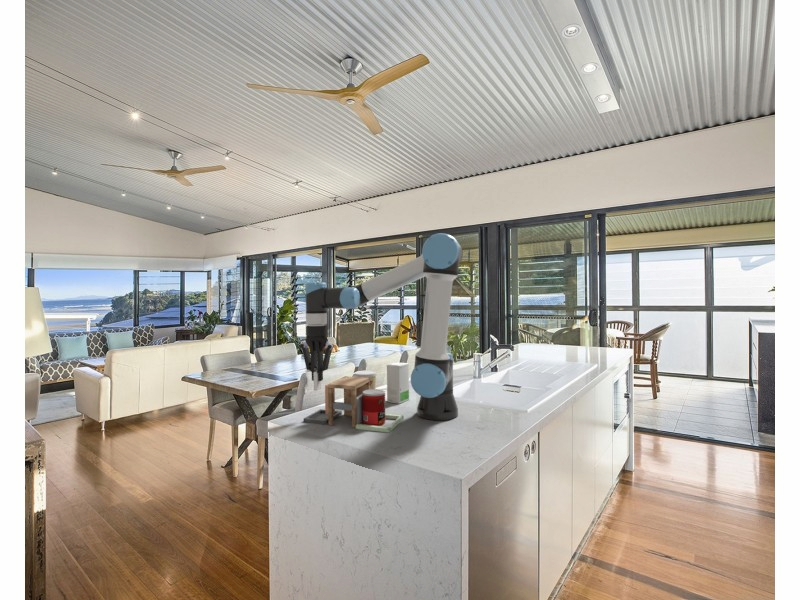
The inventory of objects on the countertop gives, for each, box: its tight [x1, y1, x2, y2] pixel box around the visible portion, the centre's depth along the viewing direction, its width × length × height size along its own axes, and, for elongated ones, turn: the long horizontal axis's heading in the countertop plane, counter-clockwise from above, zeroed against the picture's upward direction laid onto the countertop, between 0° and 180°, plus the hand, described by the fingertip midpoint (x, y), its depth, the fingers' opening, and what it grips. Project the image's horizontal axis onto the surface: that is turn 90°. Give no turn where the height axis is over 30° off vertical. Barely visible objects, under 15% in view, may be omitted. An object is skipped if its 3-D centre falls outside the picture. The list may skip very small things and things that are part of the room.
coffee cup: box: [353, 369, 377, 389], centre depth 174 cm, size 9×9×12 cm
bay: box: [355, 413, 405, 433], centre depth 145 cm, size 12×15×1 cm
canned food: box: [362, 388, 386, 426], centre depth 145 cm, size 8×8×11 cm
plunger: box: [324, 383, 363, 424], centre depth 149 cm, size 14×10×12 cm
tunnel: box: [327, 375, 370, 429], centre depth 148 cm, size 10×13×14 cm
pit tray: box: [303, 409, 343, 425], centre depth 151 cm, size 9×12×1 cm
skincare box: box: [386, 361, 410, 405], centre depth 174 cm, size 8×7×16 cm
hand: (317, 389), depth 152 cm, fingers closed
